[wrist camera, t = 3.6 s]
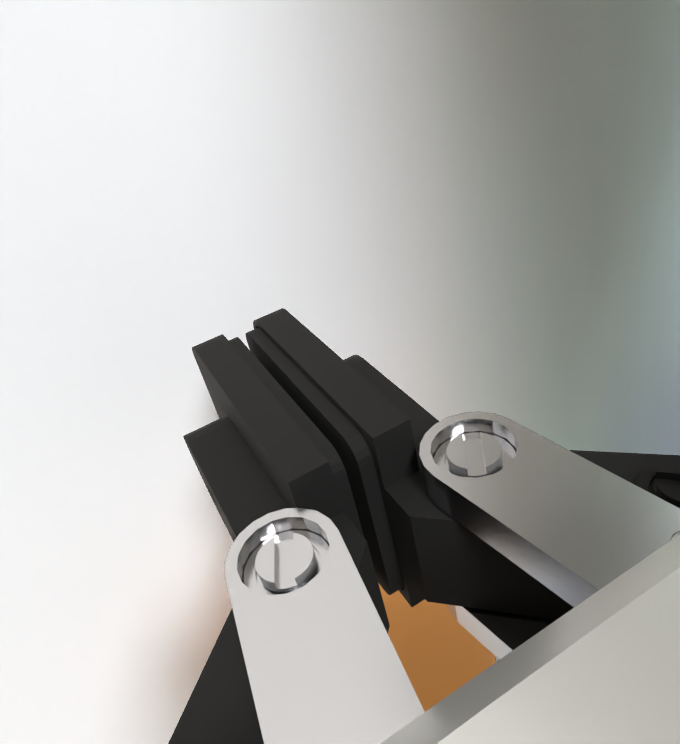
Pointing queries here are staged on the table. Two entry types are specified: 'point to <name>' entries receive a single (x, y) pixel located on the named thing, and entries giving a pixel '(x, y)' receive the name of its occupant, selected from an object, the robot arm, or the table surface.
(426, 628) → the ball
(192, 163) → the table surface
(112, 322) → the table surface
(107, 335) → the table surface
